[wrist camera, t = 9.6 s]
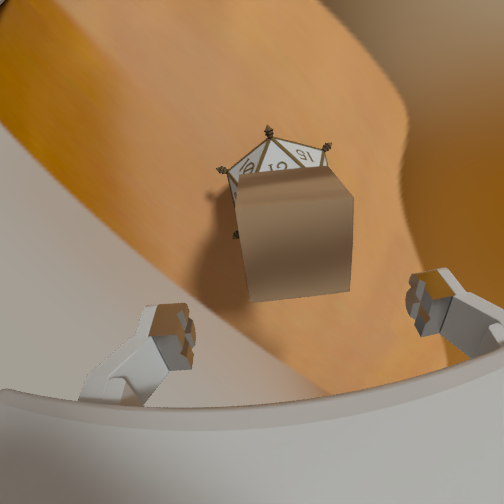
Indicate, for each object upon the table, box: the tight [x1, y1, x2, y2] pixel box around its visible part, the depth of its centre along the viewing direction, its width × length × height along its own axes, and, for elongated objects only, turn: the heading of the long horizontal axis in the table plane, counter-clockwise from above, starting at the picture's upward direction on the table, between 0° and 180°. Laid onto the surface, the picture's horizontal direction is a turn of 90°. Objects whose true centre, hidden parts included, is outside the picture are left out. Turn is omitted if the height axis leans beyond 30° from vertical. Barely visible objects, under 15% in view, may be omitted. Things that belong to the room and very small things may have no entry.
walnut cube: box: [235, 166, 354, 303], centre depth 16 cm, size 5×5×5 cm
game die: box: [216, 125, 332, 239], centre depth 22 cm, size 9×8×10 cm
